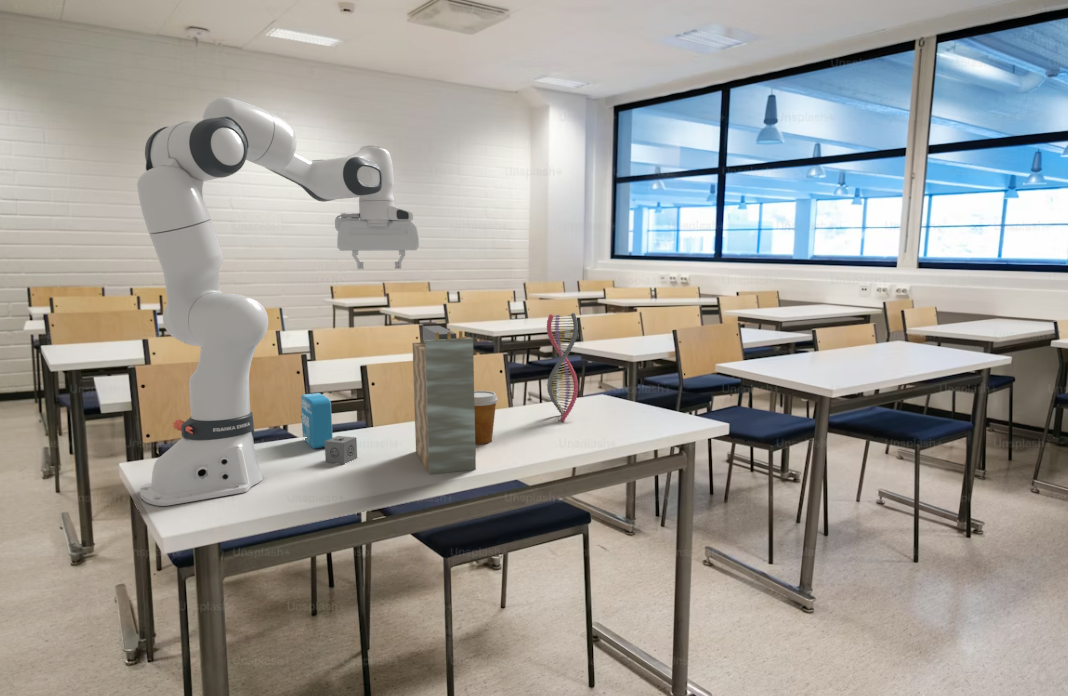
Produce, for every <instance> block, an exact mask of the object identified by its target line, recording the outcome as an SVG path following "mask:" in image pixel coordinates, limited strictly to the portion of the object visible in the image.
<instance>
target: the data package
mask: <svg viewBox="0 0 1068 696" xmlns="http://www.w3.org/2000/svg"><path fill="white" fill-rule="evenodd" d="M300 409H301V410H300V411H301V427H302V428H301V429H302V430H301V431H302V438H303V437H307V438H305V441H306V442H307V443H308V444H307V443H306V442H305V441H304V442H305V443H306V444H307V445H308V446H309V447H311V448H312V449H313V448H314V449H313V450H316V448H318V449H323V448H322V447H324V448H325V441H326V440H329V439H331V438H334V437H333V422H332V421H333V417H332V416H333V414H332V403H331V399H330V398H328V397H326V396H325V395H324V394H322V393H320V392H313V393H306V394H301V396H300Z"/></svg>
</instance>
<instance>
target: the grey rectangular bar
mask: <svg viewBox="0 0 1068 696" xmlns="http://www.w3.org/2000/svg"><path fill="white" fill-rule="evenodd" d="M435 332H439V339H447V332H451V339H457V333H456V332H454V331H452V330H449V329H447V328H446V327H443V326H441V325H425V326H423V325H422V340H423V341H422V342H425V340H436V334H435Z"/></svg>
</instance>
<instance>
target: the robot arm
mask: <svg viewBox="0 0 1068 696" xmlns="http://www.w3.org/2000/svg"><path fill="white" fill-rule="evenodd" d="M296 149H297V138H296V134H295V131H294V129H293V127H292V126H291V125H290V124H289V123H288V122H287V121H285V120H284V119H283V118H281V117H280V116H277V115H276V114H274V113H272V112H270V111H268V110H266V109H264V108H261V107H260V106H257V105H254V104H251V103H248V102H246V101H243V100H239V99H235V98H232V97H228V96H220V97H216V98H215V99H214V98H213V100H211V102H209V103H208V104H207V105H206V107H205V109H204V112H203V115H202V119H201V120H194V121H188V120H187V121H182V122H178V123H176V124H172V125H170V126H164V127H161V128H159V129H157V130H156V131H154V132H153V133H151V135H150V136H149V137H148V138H147V141H146V143H145V148H144V158H145V170H146V171H144V172H143V173H142V174H141V175H140V177H139V178H138V180H137V183H136V186H137V193H138V199H139V205H140V207H141V208H140V209H141V212H142V213H141V214H142V216H143V220H144V224H145V226H146V228H147V231H148V234H149V237H150V239H151V241H152V245H153V247H154V249H155V253H156V255H157V258H158V260H159V263H160V266H161V269H162V272H163V277H164V284H165V294H166V305H165V307H164V309H163V313H162V323H163V327H164V329H165V330H166V332H167V333H168V334H169V335H170V336H171V337H172V338H174V339H176V340H178V341H180V342H182V343H184V344H186V345H188V346H194V347H195V346H197V347H200V354H199V358H198V363H197V366H196V368H195V371H194V372H193V373H192V374H191V375H190V376H189V380H188V389H189V391H188V394H189V408H190V417H189V418H188V419H186V421H184V420H182V419H176V420H175V421H174V422H173V423H172V426H173V428H174V429H175V430H177V431H179V432H181V438H180V439H178V441H177V442H176V443H175V444H173V445H172V446H171V447H169V449H168V450H166V451H165V452H164V453H163V454H161V456H159V457H158V458H157V459H156V461H154V464H153V468H152V474H151V483H148V484H144V485H143V486H142V487H140V489H139V498H141V500H142V499H143V501H144V502H145V503H147V504H150V505H152V506H157V507H158V506H159V507H161V506H162V507H167V506H172V505H178V504H179V505H180V504H184V503H189V502H190V503H191V502H196V501H203V500H208V499H213V498H219V497H226V496H231V495H239V494H242V493H246V492H248V491H249V490H250V489H251V488H252V487H253V486H255V485H256V484H258V483H260V482H261V481H262V480H263V479H264V476H263V472H262V470H261V468H260V465H259V463H258V458H257V454H256V449H255V448H256V447H255V444H254V443H255V442H254V438H255V421H254V416H253V412H252V411H251V401H250V400H251V399H250V398H251V397H250V372H251V371H250V370H251V364H252V362H253V357H254V354H255V352H256V348H257V346H258V345H259V343H260V342H262V340H263V339H265V336H266V334H267V332H268V329H269V316H268V315H269V314H268V313H267V311H266V308H265V307H264V305H262V304H261V302H259V301H257V300H256V299H254V298H251V297H249V296H247V295H246V296H245V295H243V294H241V293H229V292H228V293H227V292H222V291H223V290H221V286H220V278H219V277H220V268H221V266H222V263H223V261H224V254H223V250H222V248H221V245H220V241H219V239H218V235H217V233H216V230H215V228H214V224H213V222H212V219H211V216H210V214H209V213H210V212H209V211H208V208H207V206H206V203H205V201H204V198H203V197H204V196H203V187H204V182H207V181H211V180H215V179H222V178H226V177H230V176H232V175H234V174H236V173H237V172H239V171H240V170H241V168H243V166H244V165H245V163H246V161H247V162H251V163H252V164H255V165H258V166H261V167H262V168H265V169H267V170H268V171H270V172H273V173H274V174H276V175H279V176H281V177H282V178H285V179H287V180H289V181H290V182H293V183H295V184H296V185H298V186H299V187H301V188H302V189H303V190H304V191H305V192H306V193H307V194H308V195H309V196H310V197H311V198H313V199H314V200H316V201H318V202H324V203H325V202H330V201H335V200H343V199H345V200H346V199H355V198H358V211H359V212H358V213H354V212H353V213H345V212H343V213H340V214H339V215H337V216H336V217H335V219H334V228H335V229H336V231H337V238H336V243H337V244H336V246H337V249H338V251H342V252H344V251H345V252H348V251H349V252H351V256H352V257H353V259H354V261H355V262H356V269H357V270H364V262H363V261H360V259H359V258H358V256H359V251H360V252H361V251H364V252H366V251H369V252H371V251H372V252H373V251H374V252H375V251H384V252H385V251H390V252H391V251H398V255H399V256H400V257H399V258H398V261H394V269H399V270H401V269H402V262H403V260H404V258H405V256H406V251H417V250H418V249H419V247H420V242H419V241H420V239H419V234H418V233H419V232H418V228H417V226H416V223H415V222H413V220H414V214H413V212H411V211H409V210H406V209H403V208H400V207H397V206H396V205H395V204H396V202H395V198H394V193H393V191H394V187H395V175H394V165H393V164H394V163H393V160H392V157H391V156H392V155H391V153H390V152H389V151H388V150H387V149H385V148H383V147H380V146H374V145H364V146H361V147H360V148H359V150H358V151H356V152H355V153H353V154H350V155H347V156H343V157H338V158H330V159H329V158H327V159H315V160H310V159H307V158H305V157H304V156H302V155H300V154H298V153H297V152H296Z"/></svg>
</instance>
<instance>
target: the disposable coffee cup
mask: <svg viewBox="0 0 1068 696" xmlns="http://www.w3.org/2000/svg"><path fill="white" fill-rule="evenodd" d="M498 399H499V398H498V397H497V394H496V392H494V391H489V390H488V391H487V390H474V407H475V445H484V444H489V443H491V442H492V441H493V434H494V425H495V423H494V422H495V416H496V415H495V414H496V406H497V403H498Z"/></svg>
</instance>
